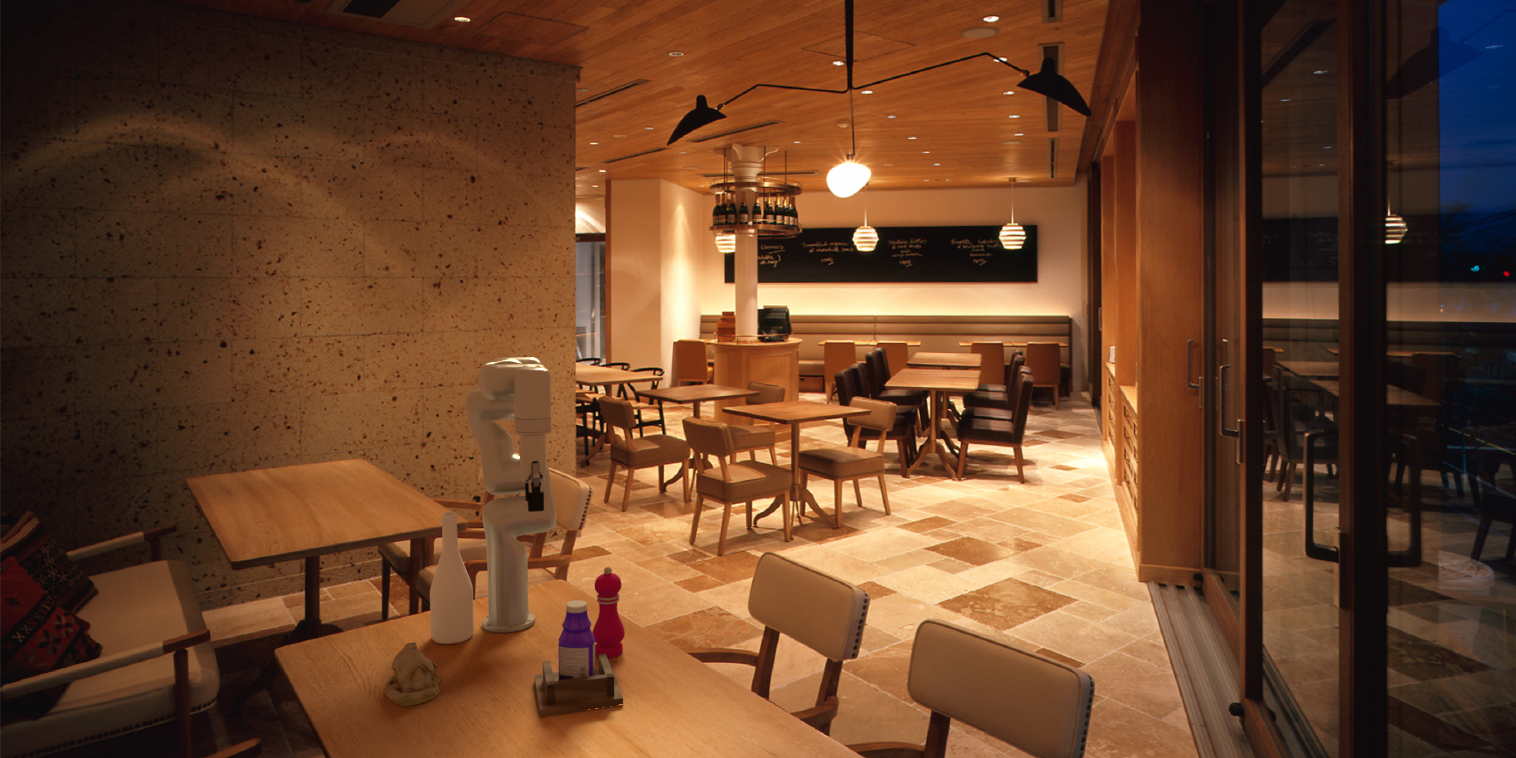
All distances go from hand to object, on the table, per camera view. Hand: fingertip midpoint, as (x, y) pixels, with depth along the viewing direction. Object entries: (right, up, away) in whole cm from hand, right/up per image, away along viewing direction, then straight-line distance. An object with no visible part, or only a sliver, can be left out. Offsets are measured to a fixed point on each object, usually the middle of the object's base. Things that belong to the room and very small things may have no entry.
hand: (534, 505), depth 182 cm
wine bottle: (-25, -35, +21) cm, 48 cm away
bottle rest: (+11, -37, -7) cm, 39 cm away
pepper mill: (+14, -36, +13) cm, 40 cm away
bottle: (+11, -36, -8) cm, 38 cm away
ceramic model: (-23, -37, -6) cm, 44 cm away
